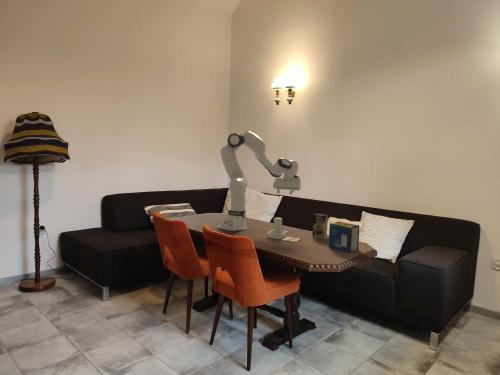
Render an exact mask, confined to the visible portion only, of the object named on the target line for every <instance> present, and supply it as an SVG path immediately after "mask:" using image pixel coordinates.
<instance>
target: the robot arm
mask: <svg viewBox="0 0 500 375" xmlns="http://www.w3.org/2000/svg"><path fill="white" fill-rule="evenodd" d="M226 142H227V144H226V145H224V146H223V147H222V148H221V149H220V156H221V160H222V163H223V165H224V166H223V167H224V169H225V171H226V174H227V175H228V178H229V179H230V182H229V186H228V188H229V195H230V209H229V210H227V213H228V214H227V215H225V216H224V217H223V218H222V219H221V221H220V224H219V225H217V229H222V230H226V231H233V232H234V231H244V230H245V231H246V230H247V229H248V227H247V223H246V222H247V221H246V216H247V213H246V211H247V210H246V193H245V190H246V189H247V187H248V180H247V178H246V177H245V174H244V172H243V170H242V168H241V165H240V162H239V159H238V157H237V154H236V151H237V150H239V148H241V147H242V146H246V147H247V148H248V149H250V150H251V151H252V153H253V154H254V155H255V158H256V159H257V160H258V162H259V163H260V164H261V165H262V166H263V167H264V168H265V169H266V170H267V171H268V172H269V174H270V175H271V176H272V177H273V178H275V179H274V182H273V184H272V187H273V189H275V190H277V191H276V193H277V194H280V193H281V191H280V190H289V195H293V193H295V191H300V190H301V186H302V185H301V183H302V182H301V178H300V176H299V175H297V174H298V170H299V164H298V162H297V161H296V160H293V159H291V160H289V159H287V158H285V157H279V158H278V159H277V160H276V161H275V163H272V161H270V159H269V158H267V156H266V148H267V147H266V146H267V145H266V143H265V141H264V140H263V139H262V138H261V137H259V136H258V135H257V134H256V133H254V132H251V130H247V131H244V132H243V134H242V133H238V132H237V133H236V132H233V133H231V134H229V135H228V138H227V141H226ZM282 175H283V177H282ZM280 177H282V178H280Z"/></svg>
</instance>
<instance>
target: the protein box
mask: <svg viewBox="0 0 500 375" xmlns="http://www.w3.org/2000/svg"><path fill="white" fill-rule="evenodd" d="M360 226H361V225H360V224H355V223H348V222H343V221H334V222H329V232H328V248H330V249H335V250H338V251H341V252H345V253H352V252H355V251H359V243H360V242H359V241H360Z"/></svg>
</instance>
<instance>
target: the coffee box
mask: <svg viewBox="0 0 500 375" xmlns="http://www.w3.org/2000/svg"><path fill="white" fill-rule="evenodd" d="M312 215H313V216H312V217H313V218H312V234H311V235H312V236H311V238H316V239H326V238H328V237H327V236H328V220H329V215H328V214H324V213H314V214H312Z"/></svg>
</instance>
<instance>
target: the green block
mask: <svg viewBox="0 0 500 375" xmlns="http://www.w3.org/2000/svg"><path fill="white" fill-rule="evenodd" d="M282 227H283V218H282V217H275V218H273V229H274V231H273V233H278V234H282V229H283V228H282Z"/></svg>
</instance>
